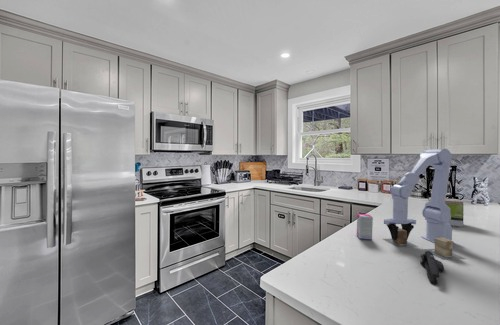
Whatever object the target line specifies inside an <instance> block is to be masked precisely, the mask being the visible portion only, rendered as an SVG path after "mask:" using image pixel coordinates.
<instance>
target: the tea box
mask: <svg viewBox="0 0 500 325" xmlns="http://www.w3.org/2000/svg"><path fill="white" fill-rule="evenodd" d="M430 200H431V197H428V202H429V201H430ZM445 204H446V205H447V206H448V207H450V213H451V220H450V221H449V222H448V223H449V224H450V225H451V227H453V226H454V227H461V228H463V227H464V201H463V200H460V199H458V198H457V199H456V198H445ZM434 208H437V207H434ZM438 209H439V208H438Z"/></svg>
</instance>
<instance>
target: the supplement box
mask: <svg viewBox="0 0 500 325" xmlns="http://www.w3.org/2000/svg"><path fill="white" fill-rule="evenodd" d="M356 214H357V215H356V216H357V218H356V219H357V220H356V237H357V239H359V240H361V241H363V240H364V241H372V240H373V224H374V222H373V220H374V216H372V215H371V214H368V213H367V214H366V213H356Z"/></svg>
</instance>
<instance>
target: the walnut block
mask: <svg viewBox="0 0 500 325" xmlns="http://www.w3.org/2000/svg"><path fill="white" fill-rule="evenodd" d="M391 239H392V238H391ZM392 241H393V242H395V243H397V244H407V241H408V239H407V231H406V230H403V229H402V227H399V228H398V231H397V239H396V240H393V239H392Z"/></svg>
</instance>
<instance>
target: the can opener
mask: <svg viewBox="0 0 500 325" xmlns="http://www.w3.org/2000/svg"><path fill="white" fill-rule="evenodd" d="M419 257H420V258H421V261H420V263H419V264H420V265H421V266H423V267H425V272H426V275H427V279H428V281H429V282H430V284H432V285H435V286H436V285H438V283H439V282H438V279H439V278H440V273H444V270H445V266H444V264H443V262H442V261H440V260H438V259H436V258H435V257H434V255H433V254H432V253H431V252H430V251H424V253H419Z"/></svg>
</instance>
